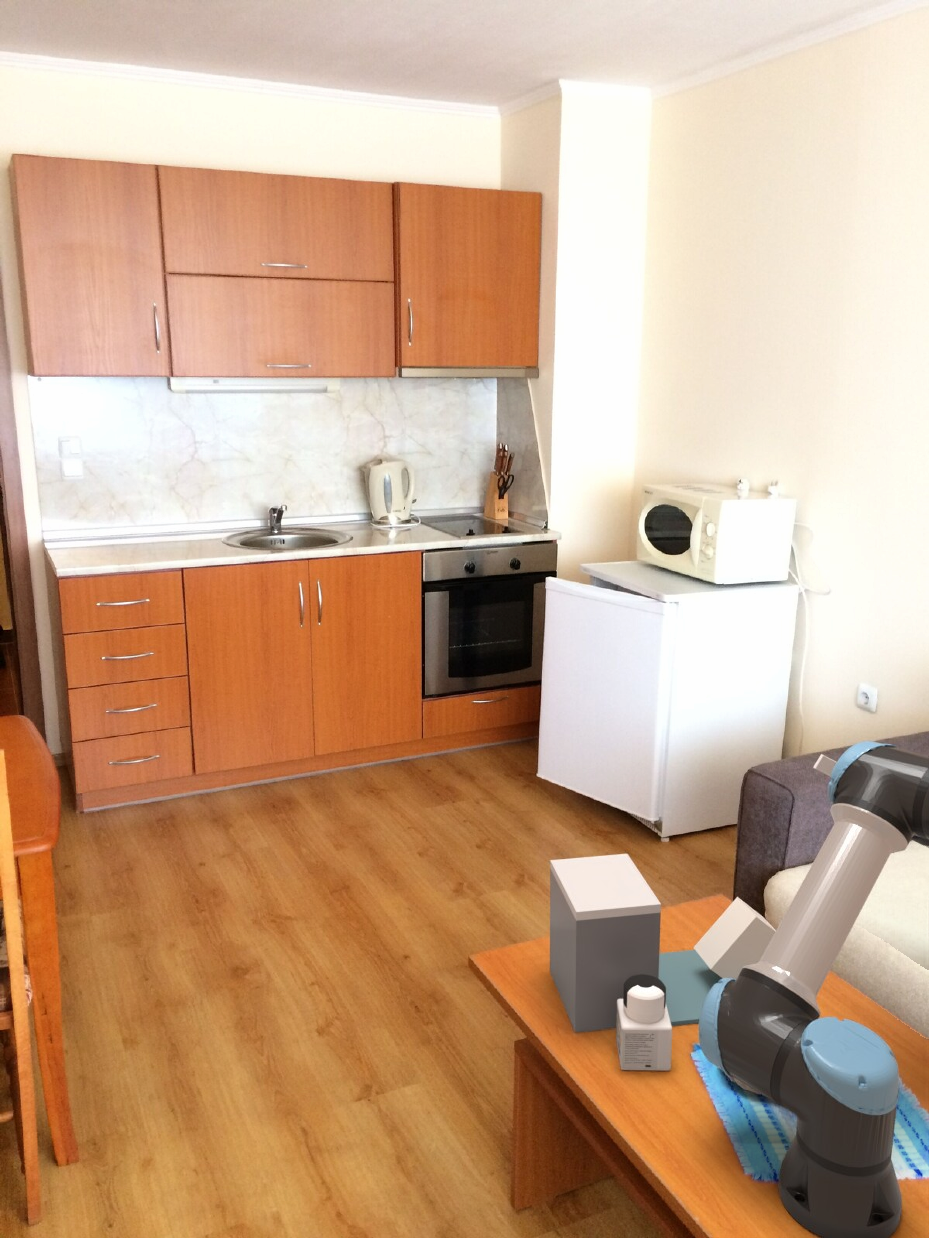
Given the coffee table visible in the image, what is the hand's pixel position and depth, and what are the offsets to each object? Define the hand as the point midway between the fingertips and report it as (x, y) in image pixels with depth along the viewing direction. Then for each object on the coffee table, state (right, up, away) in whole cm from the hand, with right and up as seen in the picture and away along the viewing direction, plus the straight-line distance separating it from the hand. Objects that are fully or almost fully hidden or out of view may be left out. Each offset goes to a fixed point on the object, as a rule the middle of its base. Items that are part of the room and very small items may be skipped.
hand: (837, 776), depth 172 cm
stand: (-38, -39, +8) cm, 55 cm away
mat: (-20, -38, +11) cm, 45 cm away
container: (-34, -43, -7) cm, 55 cm away
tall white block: (-14, -39, +12) cm, 43 cm away
